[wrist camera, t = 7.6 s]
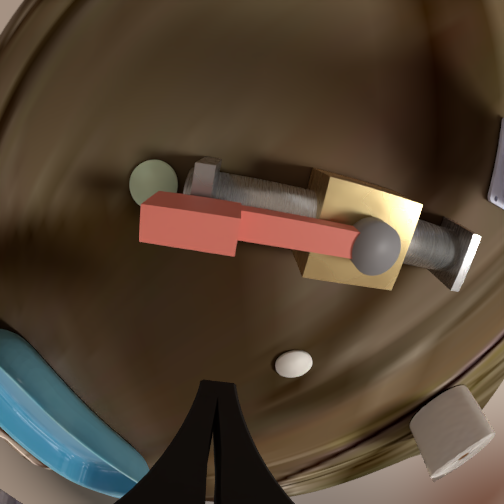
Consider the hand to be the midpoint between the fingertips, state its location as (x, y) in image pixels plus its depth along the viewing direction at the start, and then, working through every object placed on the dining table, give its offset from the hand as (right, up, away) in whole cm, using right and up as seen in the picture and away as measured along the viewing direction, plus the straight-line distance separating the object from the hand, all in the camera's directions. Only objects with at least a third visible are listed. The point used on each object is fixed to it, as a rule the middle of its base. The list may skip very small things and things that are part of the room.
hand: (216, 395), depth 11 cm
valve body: (+8, +8, +8) cm, 13 cm away
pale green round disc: (-5, +10, +6) cm, 13 cm away
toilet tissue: (+30, -18, +20) cm, 40 cm away
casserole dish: (-26, -16, +17) cm, 35 cm away
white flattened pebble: (+5, -4, +13) cm, 14 cm away
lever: (+3, +7, +3) cm, 8 cm away
